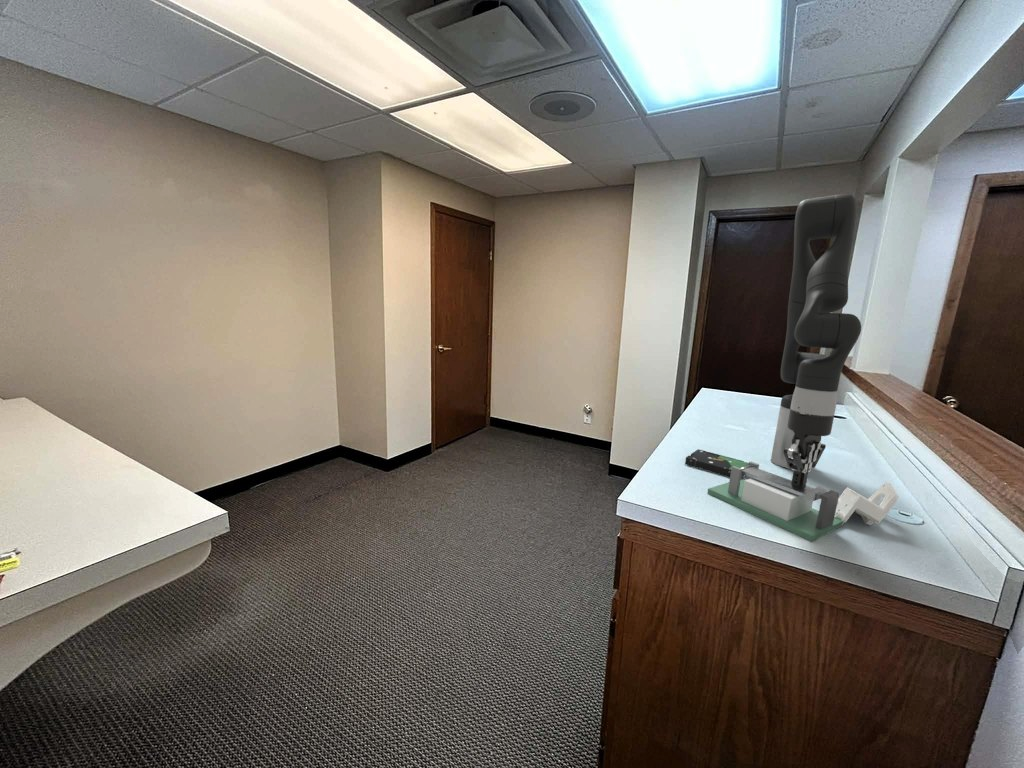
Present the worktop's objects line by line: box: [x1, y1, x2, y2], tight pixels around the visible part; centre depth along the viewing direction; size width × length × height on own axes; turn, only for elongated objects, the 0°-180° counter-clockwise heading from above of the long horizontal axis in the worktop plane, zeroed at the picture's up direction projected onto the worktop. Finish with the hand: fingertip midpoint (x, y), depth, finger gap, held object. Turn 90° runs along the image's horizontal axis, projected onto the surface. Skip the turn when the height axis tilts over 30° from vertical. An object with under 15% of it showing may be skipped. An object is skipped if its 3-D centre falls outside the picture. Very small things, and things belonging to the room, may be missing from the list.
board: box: [707, 461, 844, 542], centre depth 94 cm, size 13×23×8 cm, turn 30°
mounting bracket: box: [834, 481, 900, 527], centre depth 91 cm, size 12×6×11 cm, turn 147°
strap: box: [741, 465, 828, 502], centre depth 93 cm, size 5×17×2 cm, turn 30°
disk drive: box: [684, 449, 749, 480], centre depth 118 cm, size 10×3×15 cm
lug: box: [816, 489, 840, 530], centre depth 85 cm, size 5×2×7 cm, turn 120°
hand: (798, 487), depth 89 cm, fingers closed
